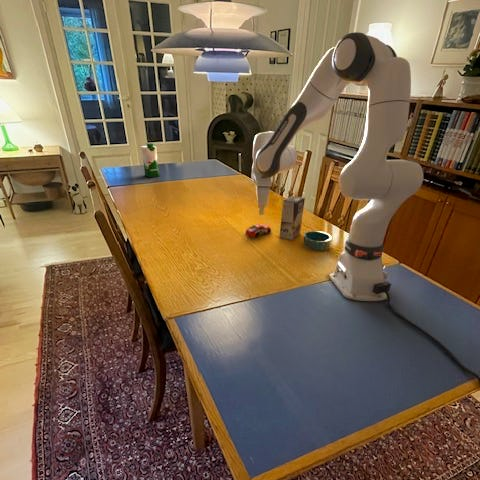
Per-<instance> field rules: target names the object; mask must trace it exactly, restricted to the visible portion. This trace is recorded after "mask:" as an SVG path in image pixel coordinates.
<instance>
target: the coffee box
mask: <svg viewBox="0 0 480 480" xmlns="http://www.w3.org/2000/svg"><path fill="white" fill-rule="evenodd" d="M305 200H306V198H305V197H302V196H297V195H296V196H295V195H290V196H289V197H287V198H285V199H283V200H282V201H283V202H282V207H281V219H280V228H279V238H282V239H287V240H290V241H293V240H294V239H295V238H297V236H299V235H300V234H301V230H302V222H303V214H304V209H305V208H304V207H305V202H306V201H305Z"/></svg>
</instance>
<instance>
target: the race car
mask: <svg viewBox="0 0 480 480" xmlns="http://www.w3.org/2000/svg"><path fill="white" fill-rule="evenodd" d="M271 231H272V228H271V226H270V225H266V224H258V223H256V224H254V225H253V224H252V225H251V226H249V227H248V228H247V229H246V230H245V235H246V236H249V237H250V238H258V237H259V236H262V235H265V234H270V233H271Z"/></svg>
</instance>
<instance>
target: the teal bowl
mask: <svg viewBox="0 0 480 480" xmlns="http://www.w3.org/2000/svg"><path fill="white" fill-rule="evenodd" d="M331 242H332V236H331V235H330V234H329V233H327V232H324V231H319V230H317V231H316V230H310V231H306V232H304V234H303V238H302V246H303V247H304V248H306V249H309V250H311V251H315V252H322V251H326V250H329V249H330V248H331V244H332V243H331Z"/></svg>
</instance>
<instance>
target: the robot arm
mask: <svg viewBox="0 0 480 480" xmlns="http://www.w3.org/2000/svg"><path fill="white" fill-rule="evenodd" d="M411 72H412V71H411V65H410V62H409V61H408V60H407V59H405V58H404V57H402V56H398V55H397V53H396V51H395V50H394V48H393V47H392V46H390V45H389V44H386V43H384V42H383V41H381V40H380V39H379V38H377V37H374V36H372V35H368V34H365V33H363V32H358V31H355V32H349V33H346V34H345V35H344V36H342V37H341V39H340V40H338V42H337V44H336V45H335V46H333V47H331V48H330V49H329V50H327V51H326V53H325V54H324V56H323V57H322V58H321V60H320V61H319V62H318V64H317V65H316V67H315V68H314V70H313V72H312V73H311V75H310V77H309V79H308V80H307V82H306V84H305V86H304V87H303V89H302V91H301V93H299V95H298V97H297V99H295V101H294V103H293V104H292V105H291V107H290V108H289V110H287V112H286V114H285V115H284V117H283V118H282V120H281V121H280V123H279V124H278V126H277V128H276V129H275V131H264V132H259V133H257V134H256V135H255V136H254V139H253V145H252V161H253V162H252V167H251V182H252V183H253V185H254V187H255V194H256V195H255V196H256V200H257V208H258V215H259V216H263V215H264V213H265V212H264V211H265V208H266V207H267V206H268V203H269V199H270V190H271V187H272V186H273V185H272V184H273V182H274V176H276V175H278V174H282V173H285V172H288V171H290V170H292V169H294V168H295V167H296V165H297V163H298V159H299V158H298V151H297V149H296V147H295V146H294V145H292V144H291V143H292V141H293V140H294V138H295V136H296V135H297V134H298V133H299V132H300V131H301V130H303V129H304V128H305V127H307V126H308V125H310V124H312V123H315V122H316V121H319V120H321V119H323V118H325V116H326V115H327V114H328V113H329V112H330V111H331V109H333V107H334V106H335V103H336V102H337V100H338V99H339V98H340V96H341V94H342V92H343V91H344V89H345V88H346V87H347V86H348V85H349V84H351V83H352V84H354V85H355V86H358V87H362V88H363V87H364V88H366V89H367V91H368V95H367V96H368V97H367V105H366V107H367V109H366V117H365V118H366V119H365V126H364V133H363V139H362V142H361V144H360V146H359V149H358V151H357V152H356V154H355V155H354V157H353V158H352V159H351V161H349V162H348V163H347V164H346V165H345V166H344V167H343V169H342V170H341V172H340V174H339V177H338V189H339V192H340V194H341V195H342V197H344V198H347V199H351V200H355V201H369V202H368V203H367V204H366V205H365V206H364V207H362V208H361V209H359V210H358V211H356V212H355V214H354V215H353V216H352V220H351V225H350V229H349V232H348V236H347V238H346V240H345V243H344V244H345V245H344V250H343V251H342V252H341V253H340V254H339V255H338V258H337V260H336V265H335V268H334V271H333V272H330V274H329V276H328V277H329V279H330V280H331V281H332V283H334V285H335V286H336V287H337V289H338V290H339V292H340V293H341V294H342V295H343V297H344V298H346V299H349V300H353V301H361V302H379V301H384V300H387V306H388V308H389V310H390V311H392V313H393V314H394V315H395V316H398V317H399V318H400V319H402V320H403V321H404V322H405V323H407V324H408V325H410V326H412V327H414V328H415V329H417V330H418V331H419V332H421V333H422V334H423V335H426V336H427V337H428V338H429V339H431V341H433V342H434V343H436V344H437V345H438V346H439V347H440V348H441V349H443V350H444V351H445V353H447V354H448V355H449V357H450V358H451V359H452V360H453V361H454V362H455V364H457V365H458V366H459V367H460V368H461V369H462V370H464V372H466V373H469V374H470V375H471V376H473V377H475V379H476V380H477V381H478V384H480V376H479V374H477V373H476V372H474V371H473V370H470V369H469V368H467V367H466V366H465V365H464V364H463V363H462V362H460V360H459V359H458V358H457V357H456V356H455V355H454V354H453V353H452V352H451V351H450V350H449V349H448V348H447V347H446V346H445V345H443V343H441V341H439V340H438V339H436V338H435V337H434V336H432V335H431V334H430V333H428V332H427V331H426V330H425V329H423V328H422V327H420V326H418V325H417V324H415V323H414V322H412V321H411V320H409V319H407V318H406V317H405V316H404V315H402V314H400V313H399V312H398V311H396V310H395V309H394V308H393V307H392V305H391V296H390V294H389V292H390V289H391V286H392V283H391V282H389V281H385V280H387V278H388V272H387V271H384V269H385V267H386V266H385V263H383V259H382V258H383V257H382V256H383V252H384V239H385V237H386V234H387V230H388V227H389V225H390V222H391V220H392V219H393V216H394V215H395V214H396V212H397V211H398V209H399V208H400V207H401V206H402V205H403V203H404V202H405V201H407V200H408V199H409V198H410V197H412V196H413V195H414V194H416V193H417V192H418V191H419V190H420V188H421V186H422V185H423V181H424V170H423V167H422V166H421V165H420V163H418V162H415V161H411V160H407V159H387V157H388V154H389V152H390V150H391V148H392V147H393V146H395V145H396V144H397V143H399V142H401V140H402V139H403V138H404V137H405V135H406V133H407V131H408V121H409V112H410V105H411V93H412V73H411Z"/></svg>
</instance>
